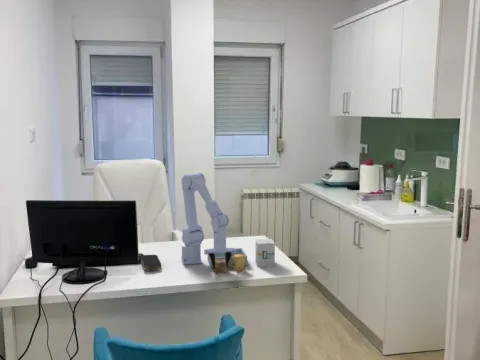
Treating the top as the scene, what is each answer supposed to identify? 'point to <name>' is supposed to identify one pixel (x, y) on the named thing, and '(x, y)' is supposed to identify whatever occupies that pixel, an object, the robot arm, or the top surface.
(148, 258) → the black sponge
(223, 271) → the walnut cube
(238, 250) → the tote
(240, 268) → the tan rounded piece
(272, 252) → the ink box
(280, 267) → the top surface
